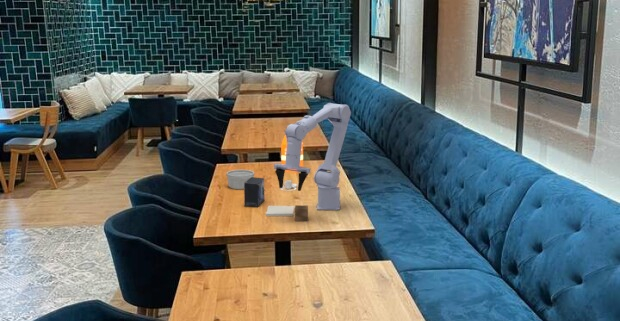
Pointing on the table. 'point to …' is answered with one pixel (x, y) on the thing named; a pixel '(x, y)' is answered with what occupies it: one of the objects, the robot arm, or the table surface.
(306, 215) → the walnut block
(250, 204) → the small box
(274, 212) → the ceramic tile
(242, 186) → the ramekin
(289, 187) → the teacup and saucer
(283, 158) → the orange juice
